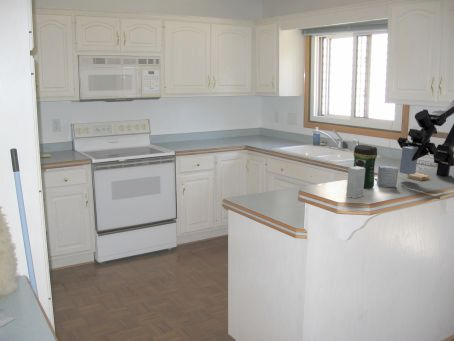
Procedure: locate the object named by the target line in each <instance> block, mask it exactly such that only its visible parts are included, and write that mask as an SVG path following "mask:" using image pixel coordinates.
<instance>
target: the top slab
mask: <svg viewBox="0 0 454 341" xmlns="http://www.w3.org/2000/svg"><path fill="white" fill-rule="evenodd" d="M407 177H408V178H407V179H410V178H412V180H414V179H416V180H415V181H418V180H420V181H419V182H422V181H421V180H426V181H428V180H427V179H430V175H426V174H423V173H418V172H415V174H410V175H408V174H407Z"/></svg>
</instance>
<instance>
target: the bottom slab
mask: <svg viewBox="0 0 454 341" xmlns="http://www.w3.org/2000/svg"><path fill="white" fill-rule="evenodd" d="M406 179H410V180H411V179H412V178H408V176H407V177H406ZM412 180H415V181H419V182H425V181H431V180H432V178H429V179H427V180H421V181H420V180H416V179H412Z"/></svg>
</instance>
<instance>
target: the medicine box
mask: <svg viewBox="0 0 454 341" xmlns="http://www.w3.org/2000/svg"><path fill="white" fill-rule="evenodd" d="M399 171H400V168H398V167H397V166H390V165H378V170H377V178H376V185H377V186H378V187H386V188H387V187H388V188H397V184H398V178H399V177H398V176H399Z"/></svg>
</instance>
